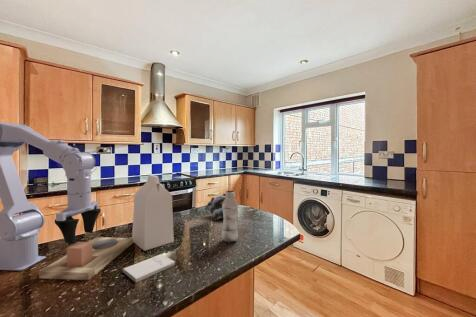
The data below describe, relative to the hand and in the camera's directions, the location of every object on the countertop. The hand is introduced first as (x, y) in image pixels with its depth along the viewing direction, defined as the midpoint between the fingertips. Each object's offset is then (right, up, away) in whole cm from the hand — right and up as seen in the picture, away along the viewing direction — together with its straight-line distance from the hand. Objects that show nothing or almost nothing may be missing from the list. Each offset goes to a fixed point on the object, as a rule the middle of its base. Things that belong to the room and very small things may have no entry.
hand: (79, 237), depth 66 cm
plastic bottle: (+44, -10, +22) cm, 51 cm away
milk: (+14, -9, +21) cm, 27 cm away
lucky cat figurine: (+39, -8, +53) cm, 66 cm away
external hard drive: (+21, -10, +1) cm, 23 cm away
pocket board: (0, -9, +6) cm, 11 cm away
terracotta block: (0, -9, 0) cm, 9 cm away
